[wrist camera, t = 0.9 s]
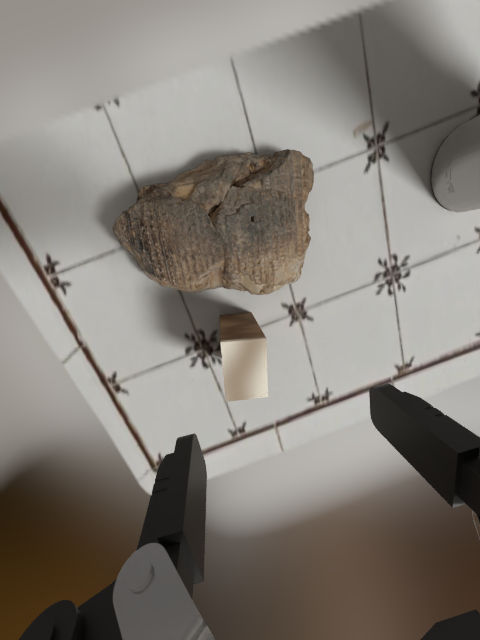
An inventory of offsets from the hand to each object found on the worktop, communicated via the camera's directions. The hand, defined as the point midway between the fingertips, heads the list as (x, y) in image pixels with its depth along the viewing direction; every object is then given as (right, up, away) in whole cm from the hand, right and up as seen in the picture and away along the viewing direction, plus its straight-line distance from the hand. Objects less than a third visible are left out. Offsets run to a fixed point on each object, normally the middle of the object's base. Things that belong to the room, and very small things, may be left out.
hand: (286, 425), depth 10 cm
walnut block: (-2, +3, +19) cm, 19 cm away
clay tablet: (-5, +15, +16) cm, 22 cm away
